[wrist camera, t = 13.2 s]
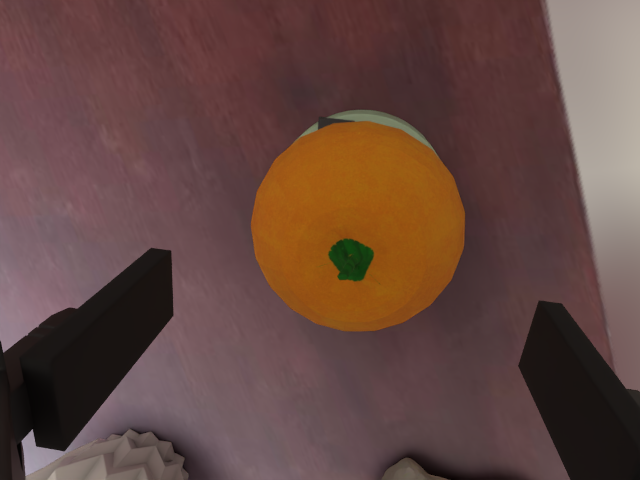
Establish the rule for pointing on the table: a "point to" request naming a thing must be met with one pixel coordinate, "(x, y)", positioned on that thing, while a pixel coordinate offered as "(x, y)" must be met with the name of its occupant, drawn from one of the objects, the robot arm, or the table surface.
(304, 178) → the fruit
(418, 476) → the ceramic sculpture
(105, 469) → the vase
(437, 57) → the table surface
